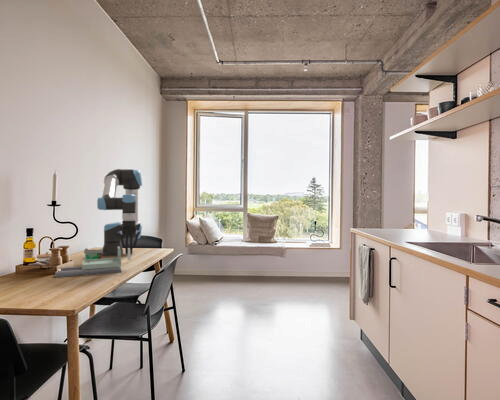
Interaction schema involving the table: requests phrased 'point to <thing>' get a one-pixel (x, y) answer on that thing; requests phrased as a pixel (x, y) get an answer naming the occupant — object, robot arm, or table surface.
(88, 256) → the food container
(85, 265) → the pale green tray
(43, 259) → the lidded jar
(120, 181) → the robot arm
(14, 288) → the table surface
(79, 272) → the grey board
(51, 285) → the table surface
